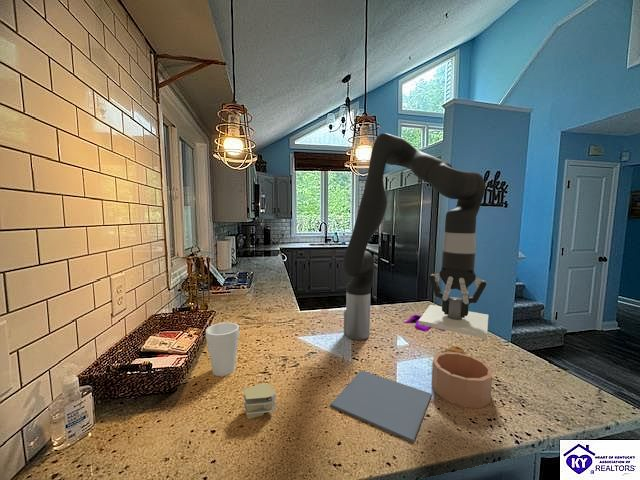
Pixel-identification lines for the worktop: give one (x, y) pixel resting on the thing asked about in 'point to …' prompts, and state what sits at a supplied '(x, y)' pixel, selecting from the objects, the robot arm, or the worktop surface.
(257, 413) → the pale green layered block
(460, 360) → the bowl
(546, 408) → the worktop surface
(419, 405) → the mat
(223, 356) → the foam cup
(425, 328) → the cloth
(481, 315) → the cover
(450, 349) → the pastry
